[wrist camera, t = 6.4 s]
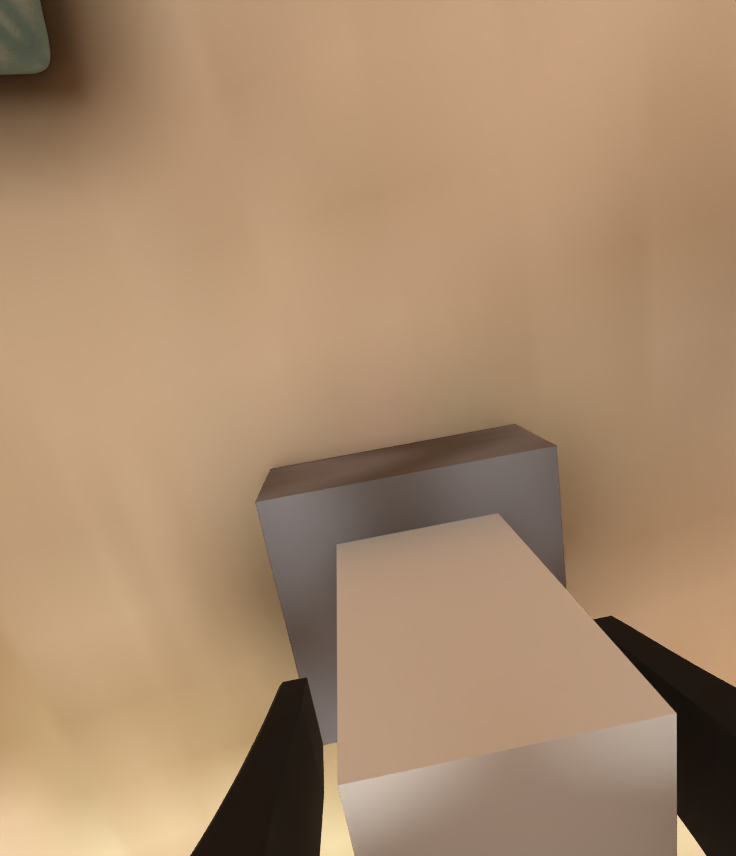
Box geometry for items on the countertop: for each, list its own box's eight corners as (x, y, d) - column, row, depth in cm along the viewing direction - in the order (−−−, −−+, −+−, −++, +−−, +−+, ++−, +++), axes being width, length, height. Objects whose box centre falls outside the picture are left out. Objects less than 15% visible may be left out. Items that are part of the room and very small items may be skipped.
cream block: (497, 512, 13) (676, 712, 6) (512, 650, 14) (676, 945, 7) (336, 544, 13) (338, 785, 6) (364, 680, 14) (392, 1012, 7)
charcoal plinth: (515, 424, 16) (556, 445, 13) (534, 633, 18) (573, 693, 15) (270, 469, 15) (255, 502, 12) (319, 676, 17) (316, 746, 14)
